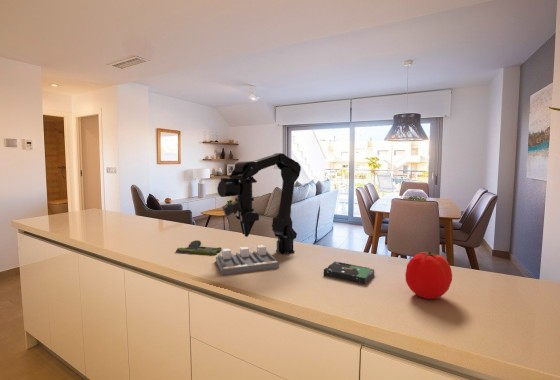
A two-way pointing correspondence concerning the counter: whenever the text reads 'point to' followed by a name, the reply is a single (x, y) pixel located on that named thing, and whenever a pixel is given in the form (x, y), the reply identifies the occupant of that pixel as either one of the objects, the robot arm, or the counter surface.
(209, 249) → the gun
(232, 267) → the switch bank
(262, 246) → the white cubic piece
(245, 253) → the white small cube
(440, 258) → the tomato
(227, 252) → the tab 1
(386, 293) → the counter surface
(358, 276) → the disk drive
